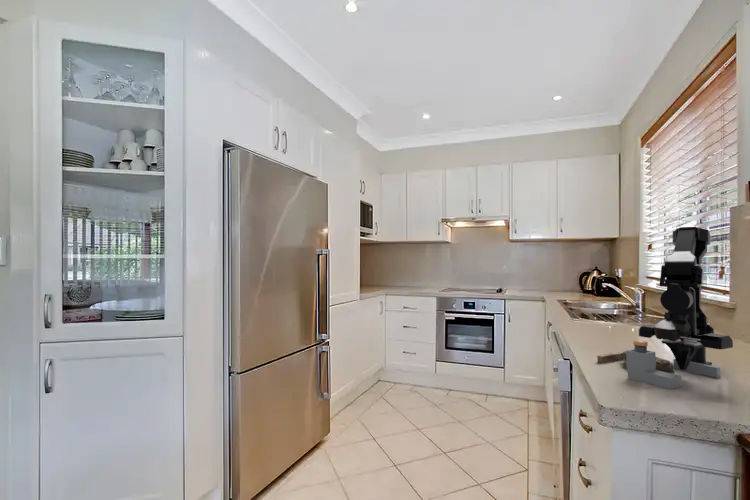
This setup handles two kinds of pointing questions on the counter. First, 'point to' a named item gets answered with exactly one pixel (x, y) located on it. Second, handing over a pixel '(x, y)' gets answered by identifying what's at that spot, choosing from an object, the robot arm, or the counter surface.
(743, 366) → the counter surface
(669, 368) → the rock
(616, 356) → the bar
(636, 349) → the plunger
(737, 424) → the counter surface
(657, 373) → the bay
